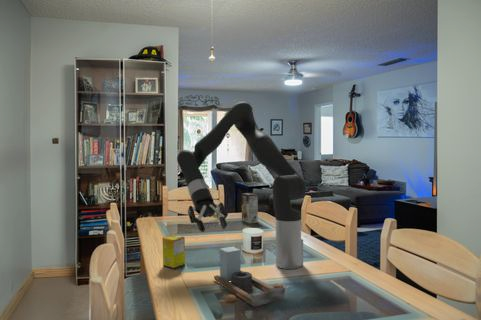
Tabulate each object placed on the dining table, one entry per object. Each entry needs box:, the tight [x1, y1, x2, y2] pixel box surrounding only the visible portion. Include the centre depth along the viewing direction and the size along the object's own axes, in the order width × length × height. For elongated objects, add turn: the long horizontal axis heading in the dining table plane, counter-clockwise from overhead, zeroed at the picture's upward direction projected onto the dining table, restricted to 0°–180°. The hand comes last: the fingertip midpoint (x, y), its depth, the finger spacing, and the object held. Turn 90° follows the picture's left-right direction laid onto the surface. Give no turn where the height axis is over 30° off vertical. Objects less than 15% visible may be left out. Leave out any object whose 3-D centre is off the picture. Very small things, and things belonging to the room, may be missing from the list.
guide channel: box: [213, 274, 286, 307], centre depth 122 cm, size 20×24×3 cm
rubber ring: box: [231, 270, 253, 291], centre depth 124 cm, size 6×6×4 cm
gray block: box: [219, 246, 241, 282], centre depth 131 cm, size 5×5×10 cm
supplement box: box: [162, 234, 186, 270], centre depth 145 cm, size 6×6×11 cm
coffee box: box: [241, 192, 259, 224], centre depth 226 cm, size 9×6×16 cm
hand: (214, 229), depth 140 cm, fingers open, 8 cm apart
